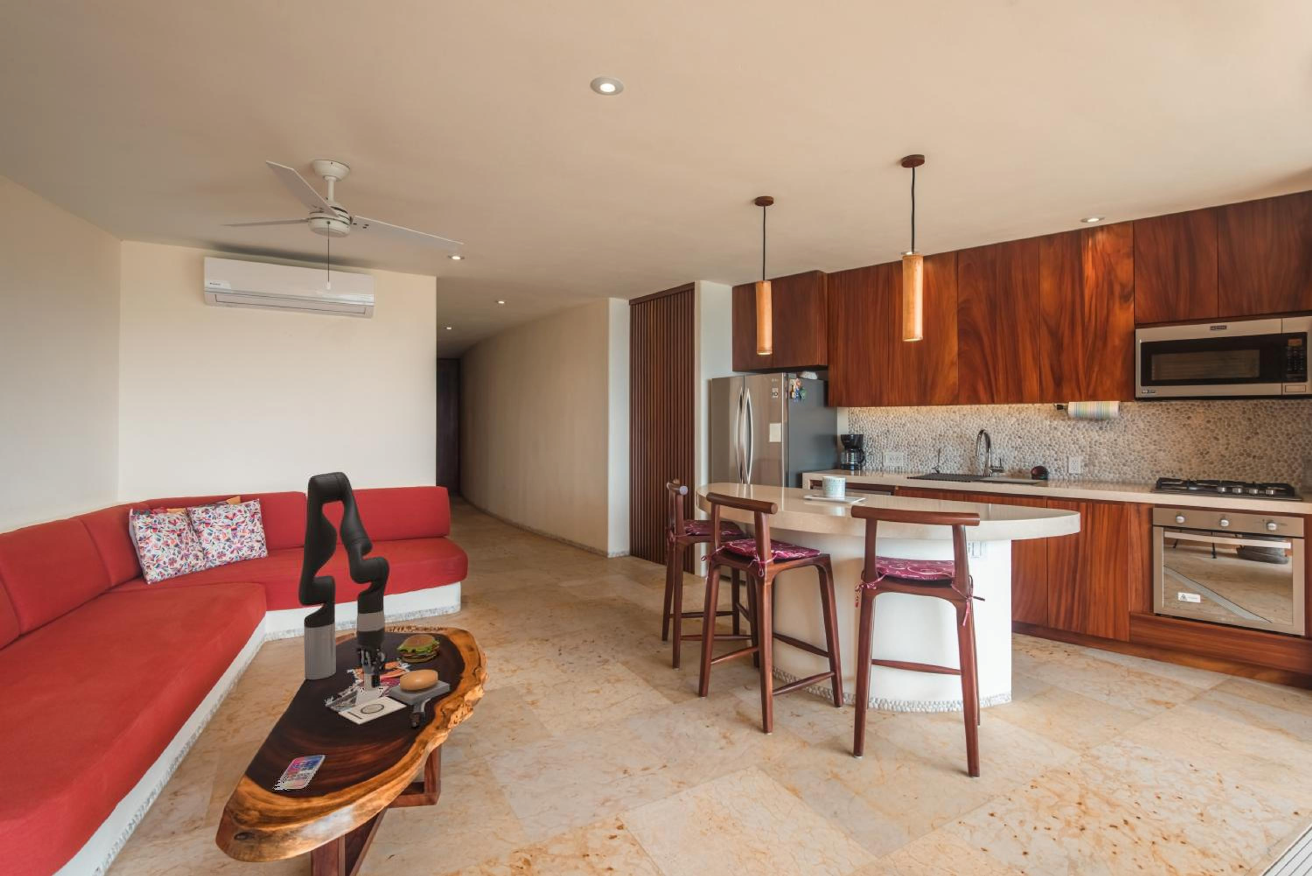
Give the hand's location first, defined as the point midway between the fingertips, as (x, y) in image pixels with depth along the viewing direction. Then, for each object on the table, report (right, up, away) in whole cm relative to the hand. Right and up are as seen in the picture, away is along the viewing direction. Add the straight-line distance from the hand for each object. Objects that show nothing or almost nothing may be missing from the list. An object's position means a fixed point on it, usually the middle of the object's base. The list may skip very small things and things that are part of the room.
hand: (371, 684), depth 180 cm
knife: (+14, -8, +1) cm, 16 cm away
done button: (+9, -4, +12) cm, 16 cm away
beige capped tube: (0, -1, 0) cm, 1 cm away
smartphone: (-1, -8, -34) cm, 35 cm away
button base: (+9, -7, +12) cm, 17 cm away
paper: (0, -7, 0) cm, 7 cm away
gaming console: (-7, -8, +11) cm, 15 cm away
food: (-4, -8, +45) cm, 45 cm away
